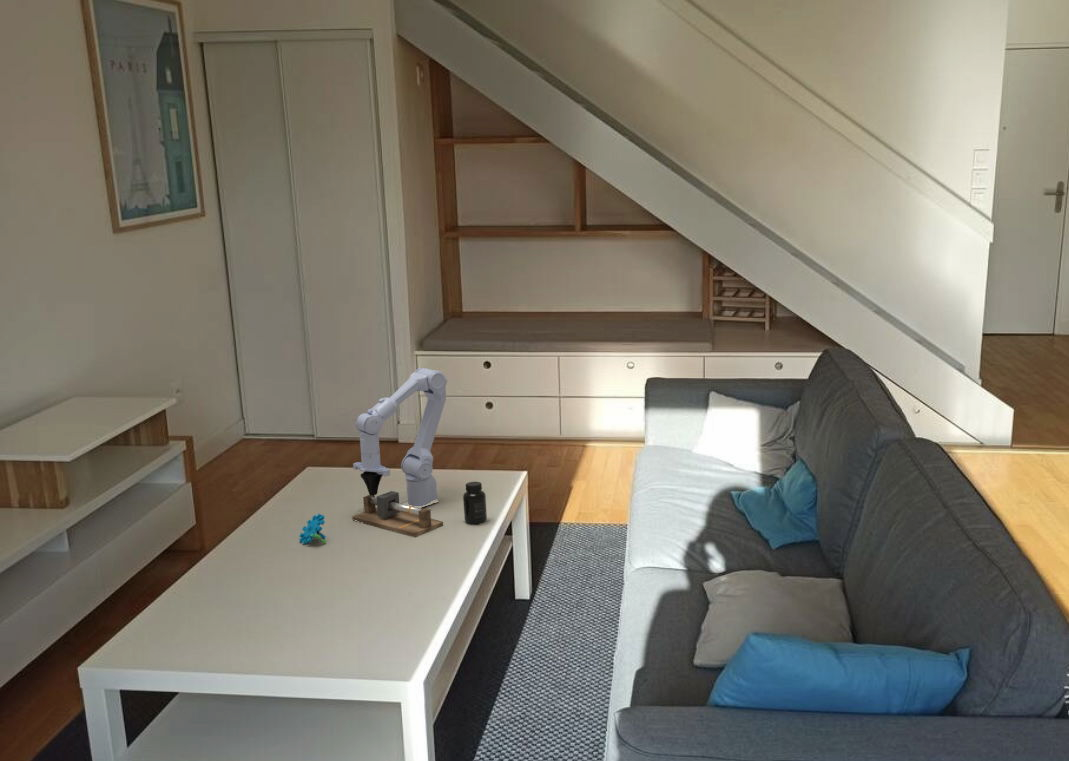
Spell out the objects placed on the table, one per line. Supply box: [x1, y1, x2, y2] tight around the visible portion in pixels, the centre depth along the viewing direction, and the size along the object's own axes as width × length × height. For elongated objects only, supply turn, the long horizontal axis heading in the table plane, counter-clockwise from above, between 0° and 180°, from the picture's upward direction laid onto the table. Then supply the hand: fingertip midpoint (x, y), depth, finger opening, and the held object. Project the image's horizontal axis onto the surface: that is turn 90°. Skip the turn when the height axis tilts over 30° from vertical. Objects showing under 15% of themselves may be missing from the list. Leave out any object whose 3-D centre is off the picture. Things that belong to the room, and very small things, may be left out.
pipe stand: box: [351, 494, 444, 538], centre depth 305 cm, size 12×27×6 cm, turn 52°
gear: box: [298, 513, 327, 545], centre depth 293 cm, size 11×6×10 cm
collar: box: [376, 490, 400, 518], centre depth 307 cm, size 6×3×6 cm, turn 142°
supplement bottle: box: [462, 481, 488, 526], centre depth 303 cm, size 7×7×12 cm
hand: (373, 494), depth 310 cm, fingers closed
